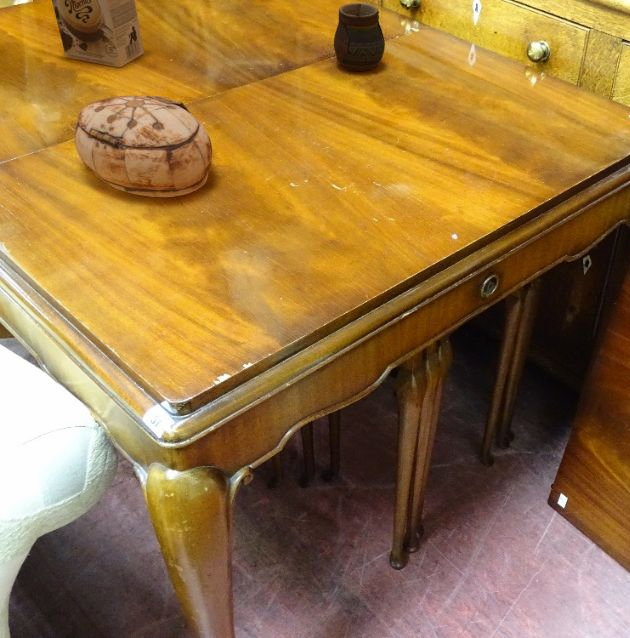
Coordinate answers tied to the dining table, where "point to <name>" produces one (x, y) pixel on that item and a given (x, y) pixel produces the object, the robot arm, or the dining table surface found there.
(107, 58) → the coffee box
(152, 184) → the trinket box
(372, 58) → the mate gourd
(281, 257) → the dining table surface
